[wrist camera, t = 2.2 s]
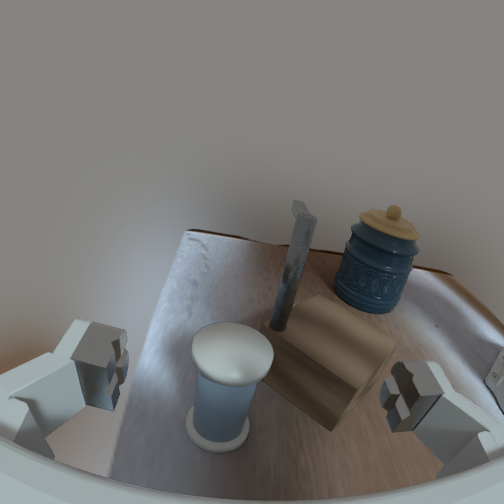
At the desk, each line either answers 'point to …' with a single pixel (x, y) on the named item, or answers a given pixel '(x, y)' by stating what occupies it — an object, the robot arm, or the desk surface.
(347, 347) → the walnut shelf block
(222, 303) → the desk surface
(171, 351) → the desk surface
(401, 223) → the canister
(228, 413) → the cord spool
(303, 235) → the hook post
